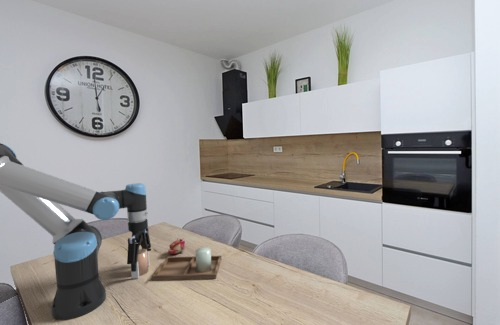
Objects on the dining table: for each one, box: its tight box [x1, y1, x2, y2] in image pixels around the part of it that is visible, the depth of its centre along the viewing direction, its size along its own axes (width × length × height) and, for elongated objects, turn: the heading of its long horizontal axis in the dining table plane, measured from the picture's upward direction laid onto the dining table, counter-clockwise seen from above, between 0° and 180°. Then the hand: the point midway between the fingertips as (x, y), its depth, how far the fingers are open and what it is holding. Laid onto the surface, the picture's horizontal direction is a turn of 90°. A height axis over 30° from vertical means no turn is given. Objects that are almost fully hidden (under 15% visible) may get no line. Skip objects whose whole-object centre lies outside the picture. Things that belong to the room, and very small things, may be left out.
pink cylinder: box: [137, 248, 149, 277], centre depth 103 cm, size 6×6×9 cm
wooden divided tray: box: [151, 255, 222, 282], centre depth 103 cm, size 17×25×2 cm
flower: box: [167, 238, 186, 255], centre depth 120 cm, size 10×9×8 cm
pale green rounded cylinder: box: [195, 246, 212, 272], centre depth 103 cm, size 6×6×8 cm
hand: (141, 271), depth 103 cm, fingers open, 9 cm apart
